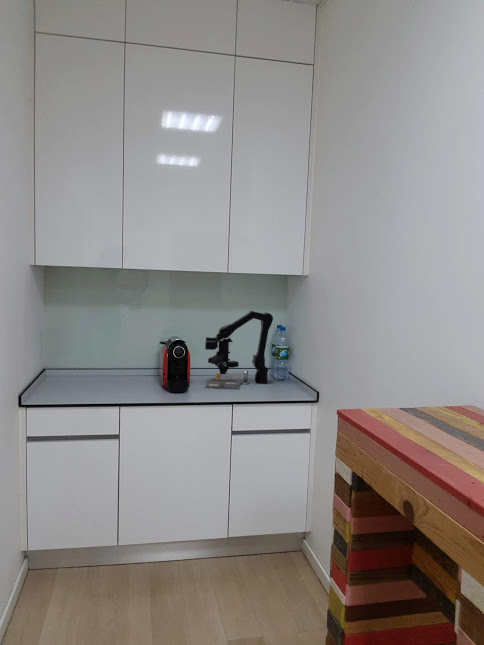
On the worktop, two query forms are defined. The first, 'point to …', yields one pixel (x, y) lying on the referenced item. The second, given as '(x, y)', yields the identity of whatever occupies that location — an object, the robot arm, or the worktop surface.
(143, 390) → the worktop surface
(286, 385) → the worktop surface
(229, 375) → the swing arm
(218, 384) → the board
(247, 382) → the base
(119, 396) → the worktop surface
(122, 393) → the worktop surface
